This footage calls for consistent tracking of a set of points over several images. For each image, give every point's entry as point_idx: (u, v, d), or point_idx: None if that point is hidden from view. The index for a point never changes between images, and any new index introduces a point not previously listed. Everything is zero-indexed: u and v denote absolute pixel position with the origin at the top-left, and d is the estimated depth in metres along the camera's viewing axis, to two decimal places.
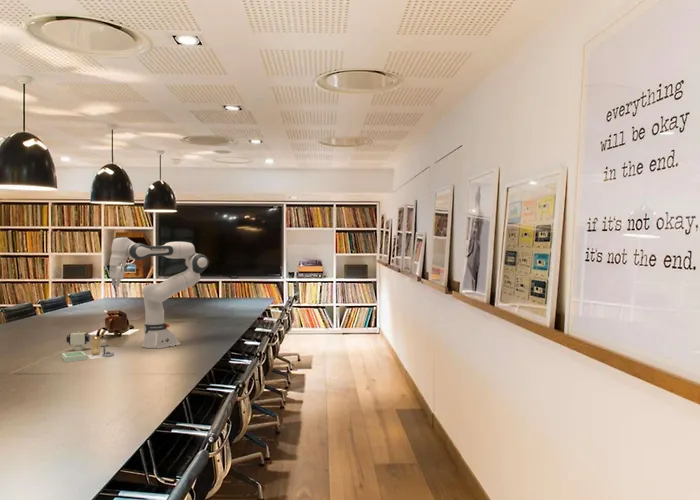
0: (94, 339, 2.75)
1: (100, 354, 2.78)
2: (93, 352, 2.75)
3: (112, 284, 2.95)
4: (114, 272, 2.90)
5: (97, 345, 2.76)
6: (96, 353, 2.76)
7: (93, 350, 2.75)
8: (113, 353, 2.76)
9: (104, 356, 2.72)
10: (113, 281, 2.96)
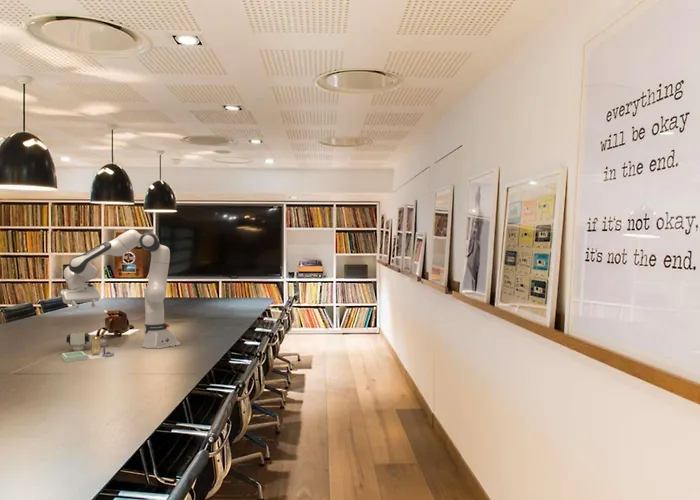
0: (94, 339, 2.75)
1: (100, 354, 2.78)
2: (93, 352, 2.75)
3: None
4: None
5: (97, 345, 2.76)
6: (96, 353, 2.76)
7: (93, 350, 2.75)
8: (113, 353, 2.76)
9: (104, 356, 2.72)
10: None
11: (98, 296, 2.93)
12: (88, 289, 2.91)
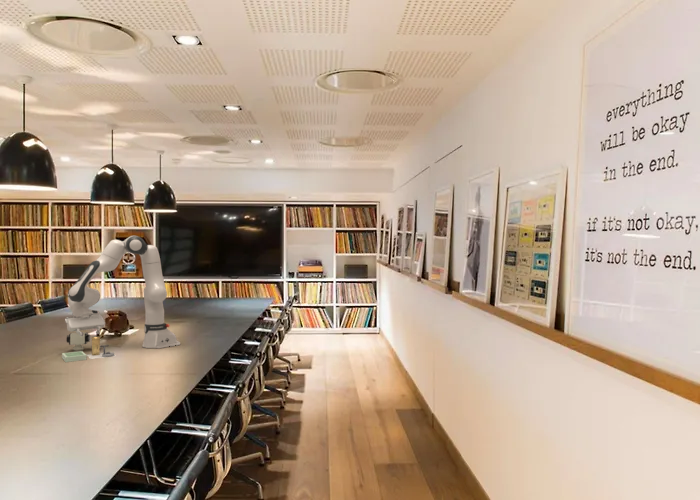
0: (94, 339, 2.75)
1: (100, 354, 2.78)
2: (93, 352, 2.75)
3: (96, 333, 2.85)
4: None
5: (97, 345, 2.76)
6: (96, 353, 2.76)
7: (93, 350, 2.75)
8: (113, 353, 2.76)
9: (104, 356, 2.72)
10: (97, 330, 2.86)
11: (103, 323, 2.89)
12: (93, 316, 2.88)
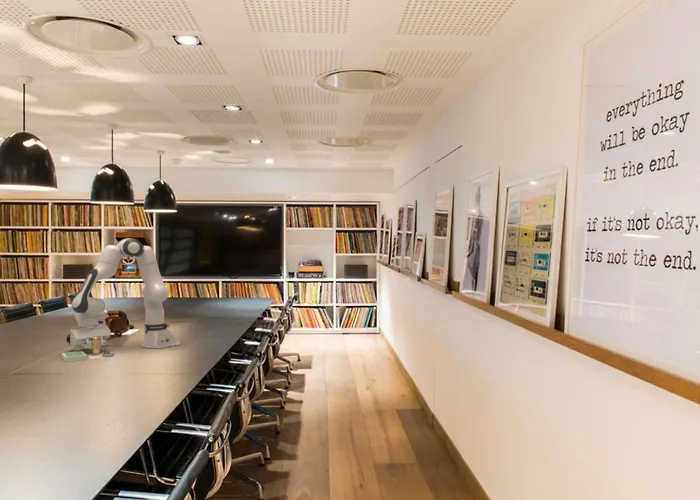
0: (94, 339, 2.75)
1: (100, 354, 2.78)
2: (93, 352, 2.75)
3: None
4: None
5: (97, 345, 2.76)
6: (96, 353, 2.76)
7: (93, 350, 2.75)
8: (113, 353, 2.76)
9: (104, 356, 2.72)
10: (100, 341, 2.80)
11: (109, 333, 2.85)
12: (99, 326, 2.84)
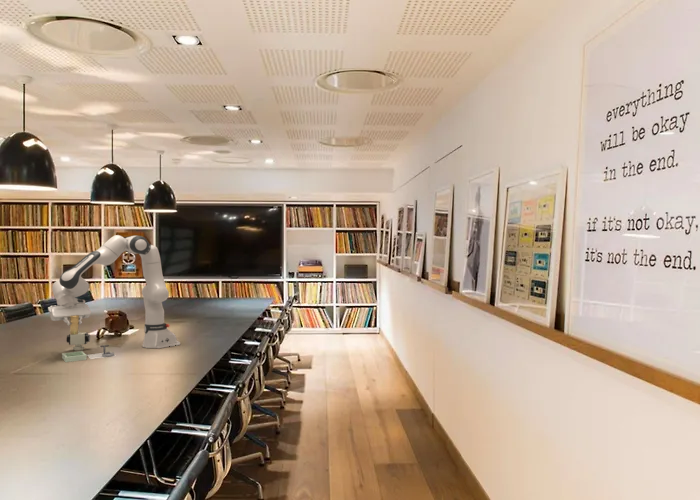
0: (72, 318, 2.65)
1: (100, 354, 2.78)
2: (71, 331, 2.65)
3: None
4: None
5: (76, 324, 2.66)
6: (74, 332, 2.65)
7: (72, 329, 2.65)
8: (113, 353, 2.76)
9: (104, 356, 2.72)
10: (79, 320, 2.70)
11: (89, 312, 2.75)
12: (78, 305, 2.74)
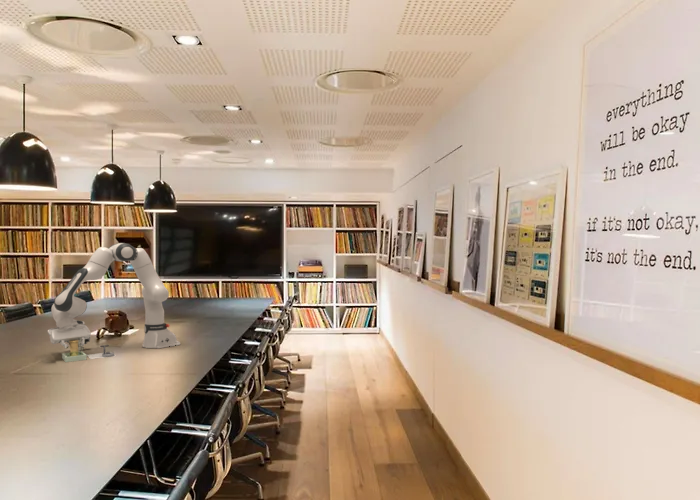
0: (72, 343, 2.65)
1: (100, 354, 2.78)
2: None
3: (80, 345, 2.70)
4: None
5: (75, 349, 2.66)
6: None
7: (72, 354, 2.65)
8: (113, 353, 2.76)
9: (104, 356, 2.72)
10: None
11: (88, 334, 2.75)
12: (78, 326, 2.73)
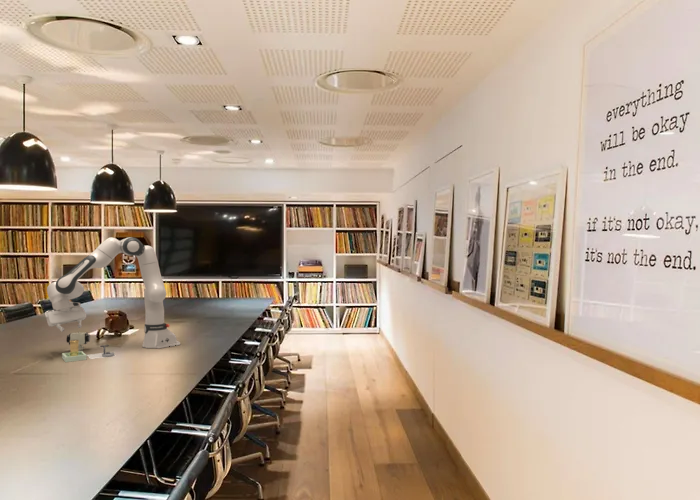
0: (72, 343, 2.65)
1: (100, 354, 2.78)
2: None
3: None
4: None
5: (75, 349, 2.66)
6: None
7: (72, 354, 2.65)
8: (113, 353, 2.76)
9: (104, 356, 2.72)
10: (79, 323, 2.79)
11: (84, 316, 2.82)
12: (74, 309, 2.79)
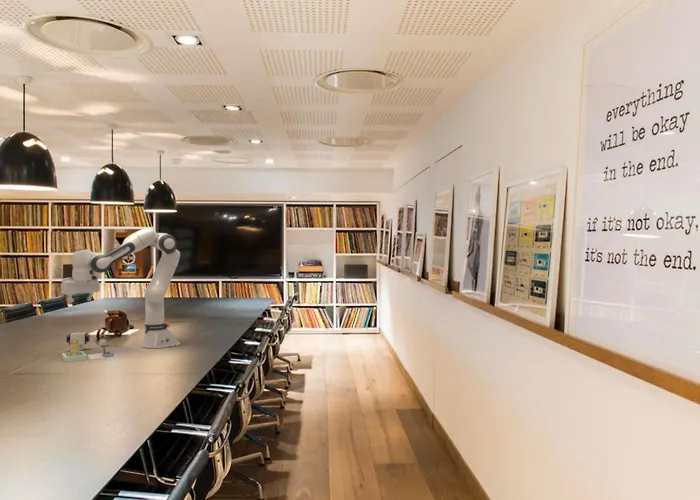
0: (72, 343, 2.65)
1: (100, 354, 2.78)
2: None
3: (87, 299, 2.83)
4: None
5: (75, 349, 2.66)
6: None
7: (72, 354, 2.65)
8: (113, 353, 2.76)
9: (104, 356, 2.72)
10: (89, 296, 2.83)
11: (97, 290, 2.85)
12: (90, 282, 2.81)
